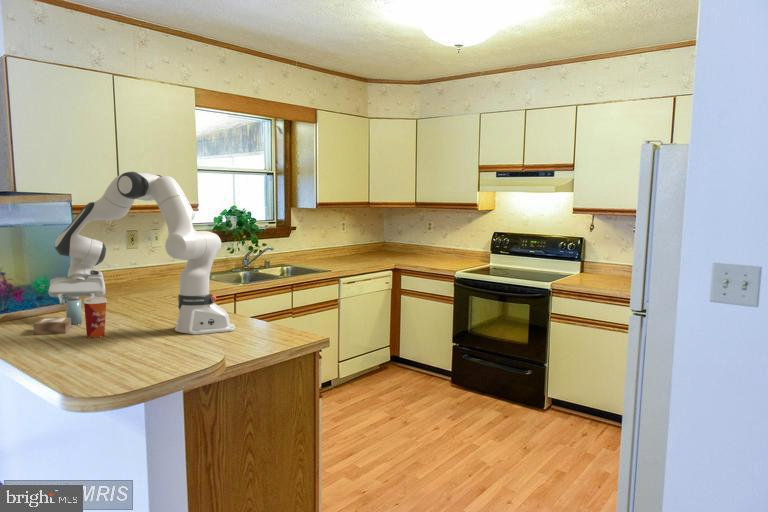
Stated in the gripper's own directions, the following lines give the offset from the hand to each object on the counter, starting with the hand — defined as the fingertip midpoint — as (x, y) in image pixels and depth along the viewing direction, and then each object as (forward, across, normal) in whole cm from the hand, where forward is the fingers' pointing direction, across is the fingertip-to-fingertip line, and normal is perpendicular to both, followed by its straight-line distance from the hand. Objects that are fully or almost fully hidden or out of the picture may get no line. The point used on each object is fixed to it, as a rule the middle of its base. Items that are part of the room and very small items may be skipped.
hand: (75, 303), depth 208 cm
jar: (+8, 0, +4) cm, 8 cm away
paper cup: (+24, +11, -12) cm, 29 cm away
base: (+15, -5, -4) cm, 17 cm away
